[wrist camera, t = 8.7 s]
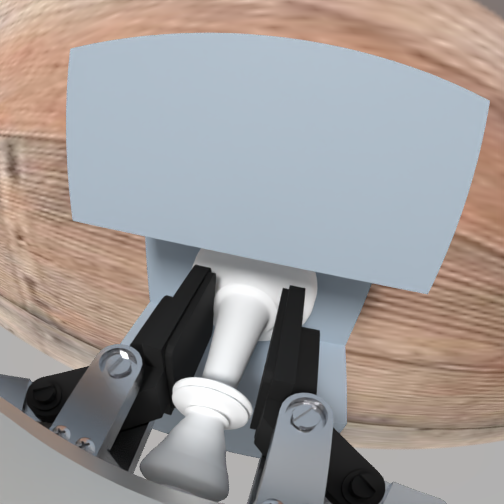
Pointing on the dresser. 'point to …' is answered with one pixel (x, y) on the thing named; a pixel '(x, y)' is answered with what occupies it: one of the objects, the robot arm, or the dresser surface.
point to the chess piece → (223, 373)
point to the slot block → (272, 172)
